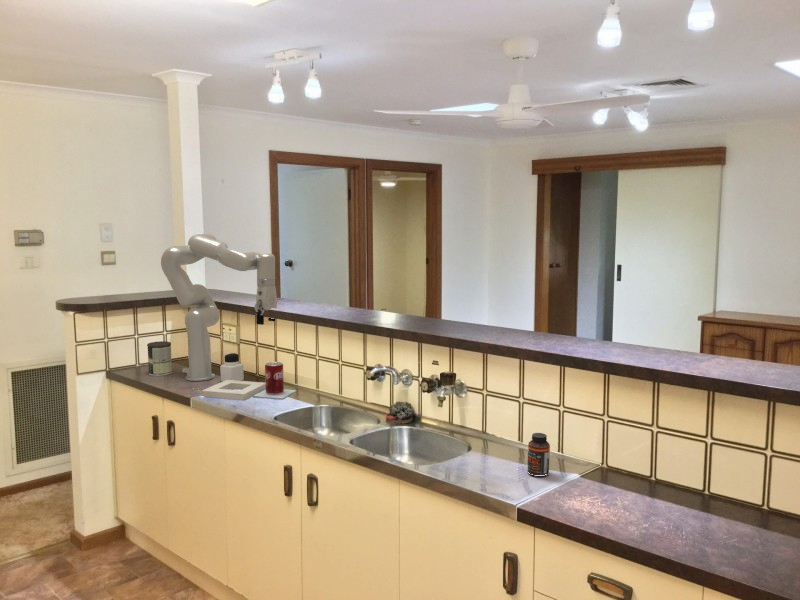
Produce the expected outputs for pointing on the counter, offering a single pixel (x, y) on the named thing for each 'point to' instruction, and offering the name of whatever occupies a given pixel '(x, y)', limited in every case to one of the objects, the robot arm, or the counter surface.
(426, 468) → the counter surface
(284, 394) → the mat
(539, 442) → the supplement bottle
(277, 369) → the soda can
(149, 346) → the coffee can
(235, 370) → the medicine bottle
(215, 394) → the collar dock
